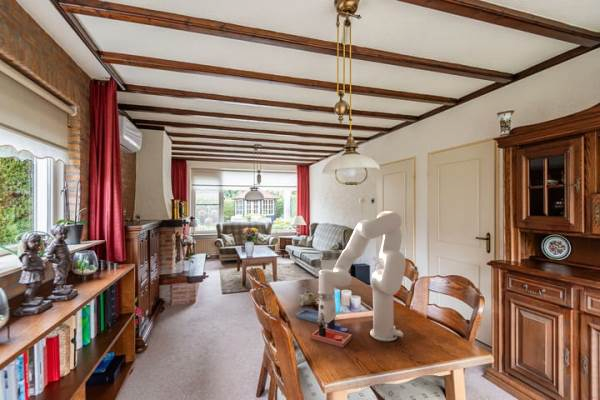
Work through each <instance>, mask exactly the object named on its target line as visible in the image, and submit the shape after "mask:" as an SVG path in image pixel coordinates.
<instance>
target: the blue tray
mask: <svg viewBox="0 0 600 400" xmlns="http://www.w3.org/2000/svg"><path fill="white" fill-rule="evenodd" d="M295 317H296V319H301V320H305V321H309V322H313V323H317V324H318V322H317V320H318V318H319V310H313V309H309V308H304V309H303V310H300V311H299V312H297V313H296V315H295ZM322 321H324V320H322Z"/></svg>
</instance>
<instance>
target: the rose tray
mask: <svg viewBox="0 0 600 400" xmlns="http://www.w3.org/2000/svg"><path fill="white" fill-rule="evenodd" d="M325 328H326V330H327V331H331V332H335V335H340V336H342V341H340V342H339V341H335V340H334V339H331V338H327V337H322V336H319V328H318V329H317V330H315V331H314V332H312V334H310V335H311V338H310V339H311V340H314V341H318V342H322V343H326V344H329V345H332V346H335V347H339V348H345V346H347V345H348V343H349V342H351V340H352V339H353V335H352V333H351V334H350V333H348V332H347V333H343V332H340V331H336V330H332V329H328V328H327V327H325Z"/></svg>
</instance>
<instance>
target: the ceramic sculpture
mask: <svg viewBox="0 0 600 400" xmlns="http://www.w3.org/2000/svg"><path fill="white" fill-rule="evenodd" d="M297 301H298V304H299V306H300V307H304V306H305V305H306V306H312V305H313V306H316V305H315V303H317V302H316V301H318V299H317V297H316V295H315V294H314V293H312V292H310V291H305V292H304V294H299V293H298V294H297Z"/></svg>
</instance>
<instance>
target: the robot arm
mask: <svg viewBox="0 0 600 400" xmlns="http://www.w3.org/2000/svg"><path fill="white" fill-rule="evenodd" d="M402 223H403V219H402V217H401V215H400V214H399V213H398V212H396V211H387V210H386V211H385V210H384V211H380V212H379V213H378V214H377V216H376V217H375V218H373V219H370V220H369V219H362V220H359V222H357V224H356V226H355V228H354V230H353V232H352V234H351V236H350V238H349V241H348V242H347V244H346V247H345V249H343V250H342V252H341V254H340V255H339V257H338V259H337V260H336V263H335V265H334V267H333V269H330V268H329V269H328V268H323V269H320V270H319V271H318V301H319V304H318V311H319V318H318V320H317V322H318V323H317V322H316V323H317V326H318V329H319V336H322V337H326V328H327V327H326V326H327V323H328V328H330V329H331V330H332V329H335V324H336V323H335V320H336V317H337V307H336V306H337V305H336V299H335V298H336V297H335V296H336V295H335V294H336V293H335V291H336V289H335V287H342V288H344V287H345V288H346V287H348V286H350V285H351V283H352V279H353V277H352V275H351V273H350V272H349V271H350V269H351V267H352V265H353V263H354V262H355V261H356V260H358V259H359V258H361V257H362V256H363V255H364V253H365V251H366V248H367V247H368V244H369V242H370V240H372V239H377V238H380V237H382V236H383V238H382V243H381V247H380V251H379V255H378V262H379V264H380V265H381V266H383V268H379V269H376V270H374V272H373V273H372V275H371V288H372V329H370V331H369V335H370V337H372V338H373V339H375V340H376V341H381V342H393V341H396V340H397V339H398V337H399V338H403V337H404V333H403V332H402V330H398V329H396V325H395V321H394V320H395V319H394V318H395V314H394V311H395V310H394V309H395V308H394V304H395V303H394V295H397V293H399V291H400V290H401V287H402V283H403V280H404V275H405V272H406V268H407V260H406V257H405V255H404V254H403V253H402V252H401V251H400V250H401V246H402V240H403V237H402V236H403V235H402V230H401V228H400V227H401V225H402ZM322 320H324V321H322ZM328 328H327V329H328Z"/></svg>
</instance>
